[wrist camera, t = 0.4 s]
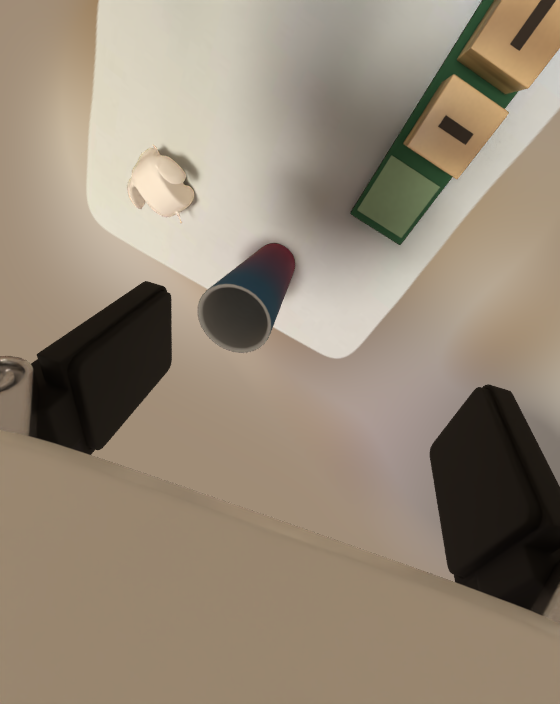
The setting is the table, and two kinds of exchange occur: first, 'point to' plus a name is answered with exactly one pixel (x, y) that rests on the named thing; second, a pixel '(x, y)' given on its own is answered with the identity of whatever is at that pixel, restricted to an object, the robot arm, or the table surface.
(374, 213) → the green tile rack
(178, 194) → the elephant figurine
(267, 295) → the cup
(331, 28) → the table surface
